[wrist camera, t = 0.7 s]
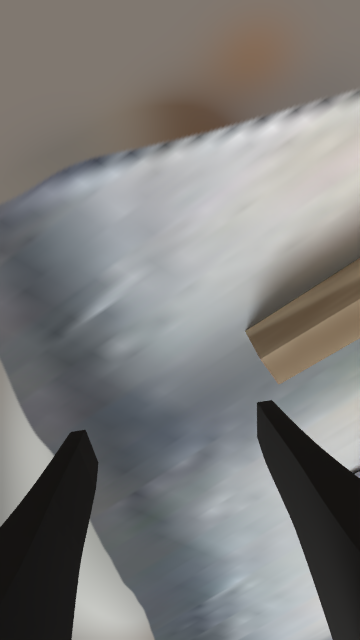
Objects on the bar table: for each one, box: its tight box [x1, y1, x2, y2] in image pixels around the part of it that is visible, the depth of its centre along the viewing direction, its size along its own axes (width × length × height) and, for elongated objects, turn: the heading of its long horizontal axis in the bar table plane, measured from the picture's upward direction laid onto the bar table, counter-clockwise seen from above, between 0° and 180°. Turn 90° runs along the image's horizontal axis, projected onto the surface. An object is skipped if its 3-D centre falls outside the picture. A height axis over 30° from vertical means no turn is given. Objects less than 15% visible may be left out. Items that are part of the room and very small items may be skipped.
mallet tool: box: [245, 258, 360, 384], centre depth 19 cm, size 6×13×4 cm, turn 126°
